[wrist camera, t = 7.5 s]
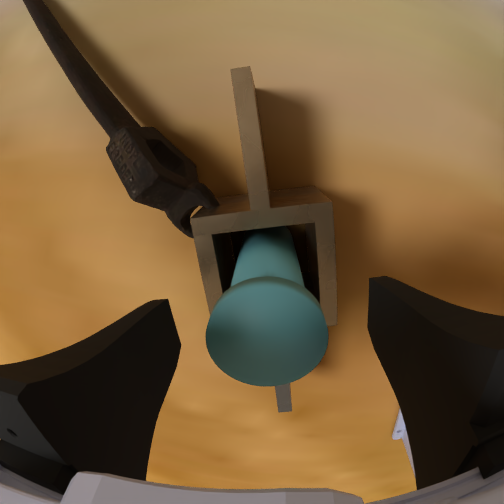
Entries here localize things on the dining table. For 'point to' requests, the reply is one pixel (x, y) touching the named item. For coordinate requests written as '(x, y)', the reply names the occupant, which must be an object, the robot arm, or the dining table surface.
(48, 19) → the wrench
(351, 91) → the dining table surface
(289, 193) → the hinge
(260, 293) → the pin
